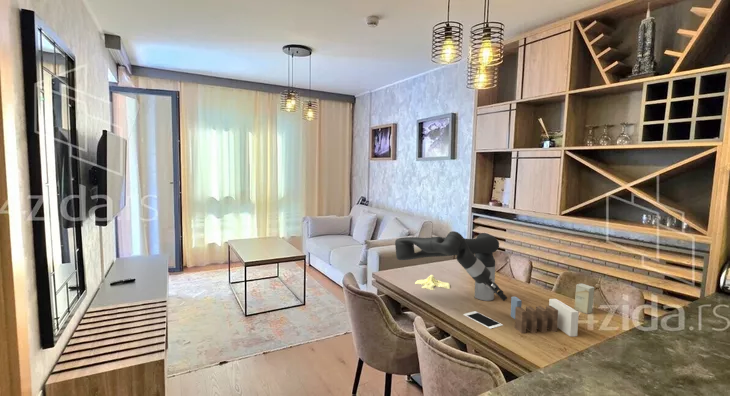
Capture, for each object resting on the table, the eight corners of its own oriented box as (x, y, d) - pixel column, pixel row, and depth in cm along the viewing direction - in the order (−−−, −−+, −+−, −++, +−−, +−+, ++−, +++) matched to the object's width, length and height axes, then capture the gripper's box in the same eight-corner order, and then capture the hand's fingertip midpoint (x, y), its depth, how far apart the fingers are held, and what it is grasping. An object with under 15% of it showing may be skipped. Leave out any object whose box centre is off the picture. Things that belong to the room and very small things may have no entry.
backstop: (570, 336, 139) (571, 312, 138) (548, 321, 153) (549, 298, 152) (577, 336, 139) (578, 311, 138) (554, 320, 153) (555, 298, 152)
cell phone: (475, 312, 163) (475, 310, 163) (503, 326, 149) (503, 324, 148) (462, 315, 159) (462, 314, 159) (490, 329, 145) (490, 328, 145)
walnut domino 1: (521, 333, 141) (522, 311, 140) (514, 327, 146) (515, 306, 145) (525, 333, 141) (526, 311, 141) (519, 327, 146) (520, 306, 146)
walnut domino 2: (531, 332, 142) (532, 311, 141) (524, 327, 147) (525, 306, 146) (536, 332, 142) (537, 311, 141) (529, 326, 147) (530, 306, 146)
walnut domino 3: (542, 332, 142) (543, 310, 141) (534, 326, 147) (535, 306, 146) (546, 332, 142) (547, 310, 142) (539, 326, 147) (540, 305, 147)
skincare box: (573, 309, 165) (575, 284, 164) (579, 307, 167) (580, 282, 166) (587, 314, 160) (589, 288, 159) (593, 312, 162) (594, 287, 161)
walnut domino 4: (552, 331, 143) (553, 310, 142) (544, 326, 148) (545, 305, 147) (556, 331, 143) (558, 310, 142) (549, 326, 148) (550, 305, 147)
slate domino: (516, 320, 153) (517, 300, 152) (510, 315, 158) (511, 296, 157) (520, 320, 153) (521, 300, 152) (514, 315, 158) (515, 296, 157)
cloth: (457, 288, 195) (457, 277, 194) (429, 293, 187) (429, 282, 186) (433, 277, 215) (433, 267, 214) (407, 281, 207) (407, 270, 207)
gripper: (464, 270, 157) (487, 295, 159) (477, 281, 143) (502, 308, 145) (476, 259, 157) (499, 284, 159) (490, 269, 143) (515, 295, 145)
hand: (500, 295), depth 152 cm, fingers open, 8 cm apart
